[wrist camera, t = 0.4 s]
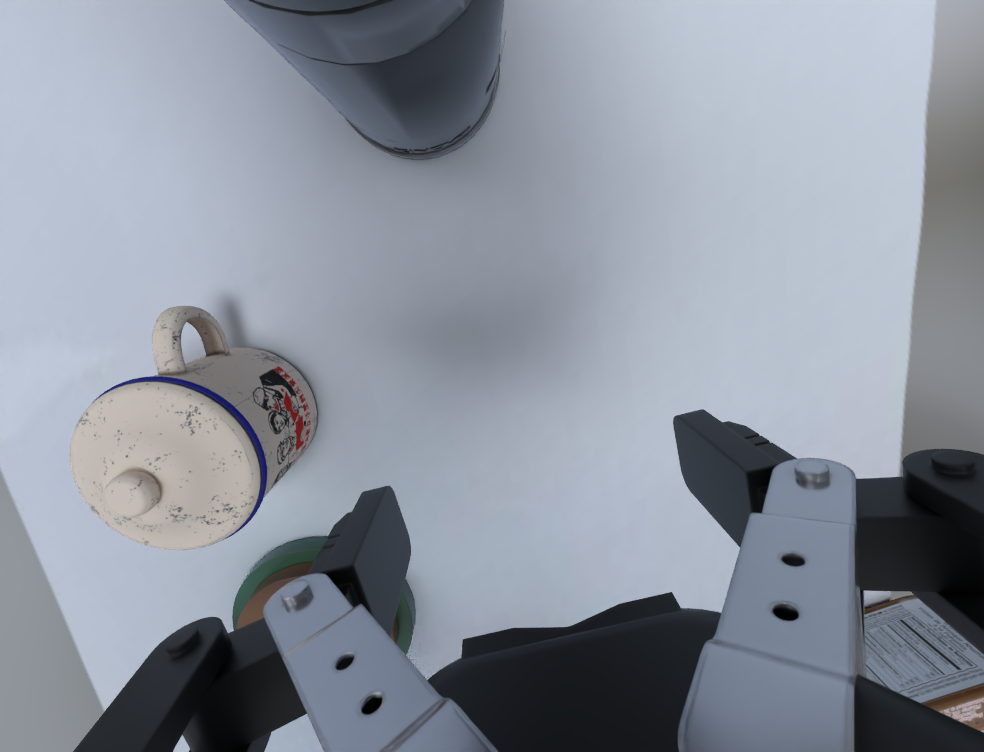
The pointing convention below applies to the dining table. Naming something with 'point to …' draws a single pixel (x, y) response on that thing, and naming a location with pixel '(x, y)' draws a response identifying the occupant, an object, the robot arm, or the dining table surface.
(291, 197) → the dining table surface
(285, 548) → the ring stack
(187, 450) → the teacup with lid
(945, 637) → the tin
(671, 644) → the robot arm
